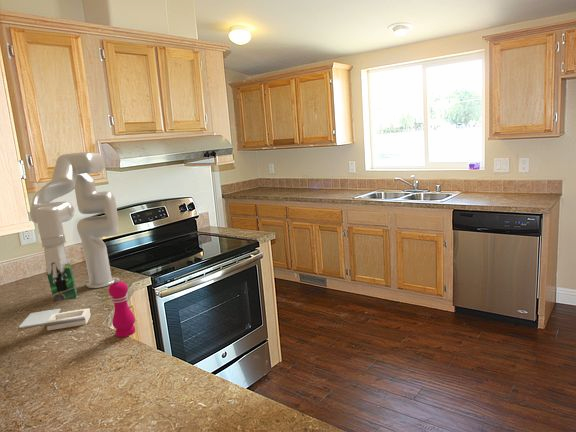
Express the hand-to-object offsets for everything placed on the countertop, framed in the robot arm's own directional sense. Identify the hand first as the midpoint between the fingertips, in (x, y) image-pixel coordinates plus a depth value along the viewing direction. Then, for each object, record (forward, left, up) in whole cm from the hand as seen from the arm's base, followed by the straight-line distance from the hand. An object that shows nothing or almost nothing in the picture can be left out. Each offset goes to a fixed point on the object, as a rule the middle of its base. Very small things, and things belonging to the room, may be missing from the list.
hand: (63, 288), depth 159 cm
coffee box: (0, 0, -5) cm, 5 cm away
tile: (-8, -13, -13) cm, 20 cm away
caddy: (+1, 0, -13) cm, 13 cm away
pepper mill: (+19, +22, -14) cm, 32 cm away
